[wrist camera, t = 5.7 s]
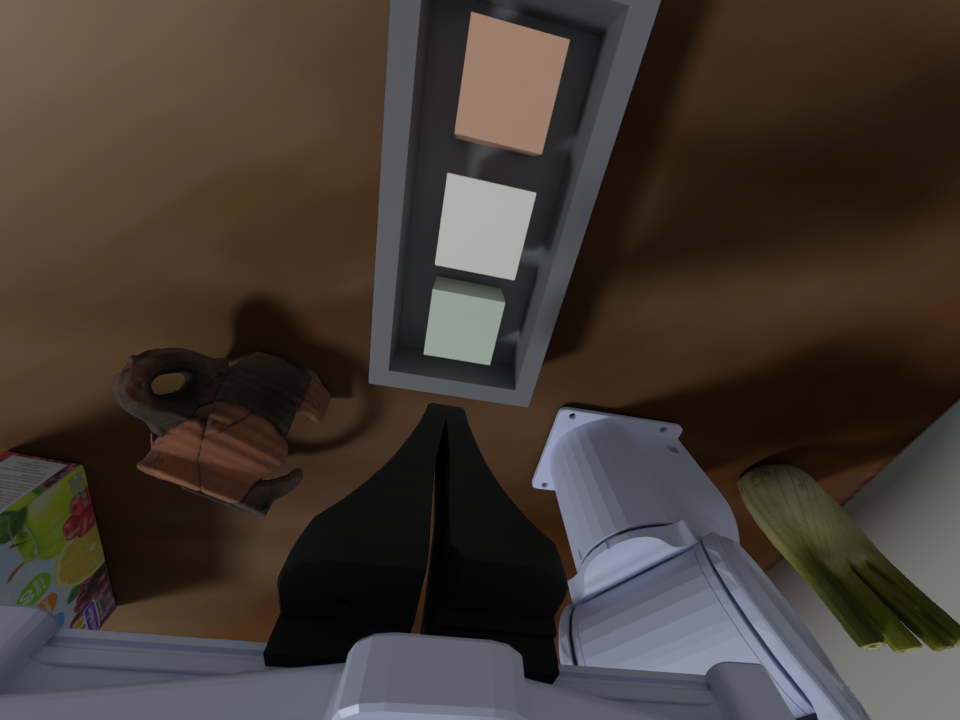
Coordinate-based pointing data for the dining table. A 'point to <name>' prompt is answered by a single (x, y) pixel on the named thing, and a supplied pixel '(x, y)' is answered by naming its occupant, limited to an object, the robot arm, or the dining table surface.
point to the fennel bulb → (843, 563)
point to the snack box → (52, 542)
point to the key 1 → (463, 320)
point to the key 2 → (508, 85)
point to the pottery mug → (221, 422)
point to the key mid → (483, 226)
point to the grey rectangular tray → (552, 175)
